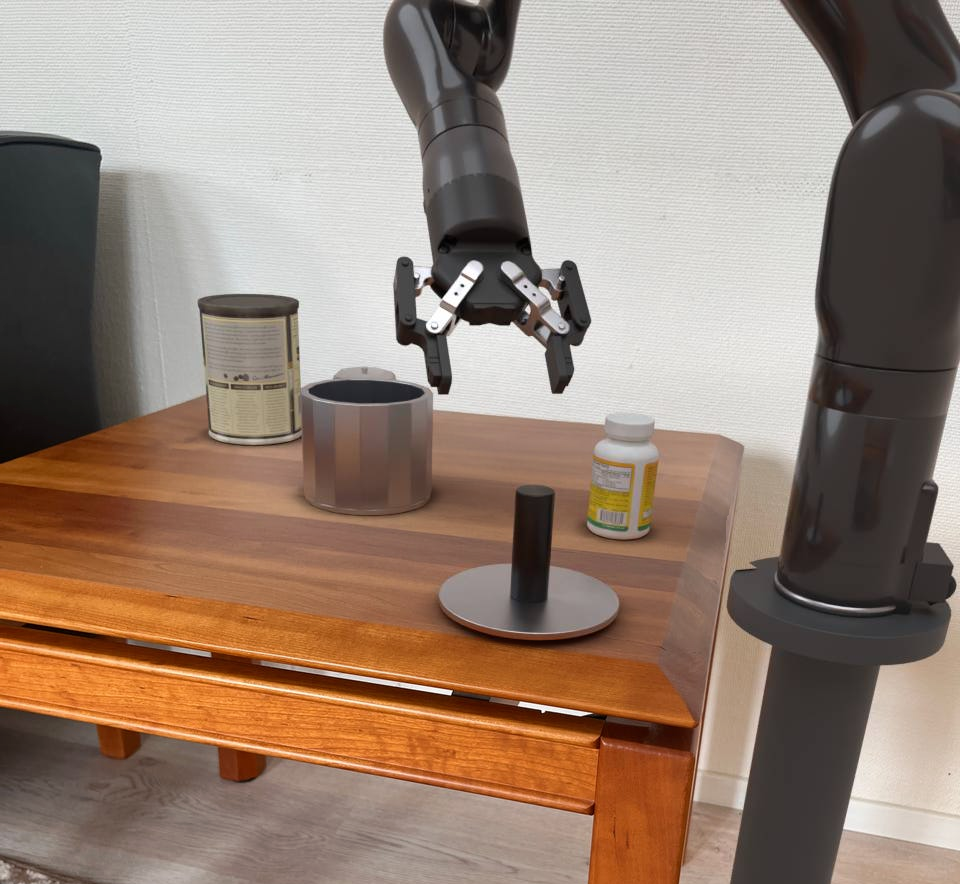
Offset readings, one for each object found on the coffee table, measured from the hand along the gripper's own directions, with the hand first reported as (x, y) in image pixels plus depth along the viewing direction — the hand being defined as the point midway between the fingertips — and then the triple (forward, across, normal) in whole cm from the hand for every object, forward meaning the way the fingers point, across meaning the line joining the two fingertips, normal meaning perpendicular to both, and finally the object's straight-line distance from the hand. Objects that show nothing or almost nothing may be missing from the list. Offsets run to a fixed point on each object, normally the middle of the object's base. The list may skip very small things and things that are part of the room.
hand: (504, 388), depth 73 cm
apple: (-22, -4, +42) cm, 47 cm away
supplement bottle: (+5, +12, +14) cm, 19 cm away
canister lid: (+16, 0, +2) cm, 16 cm away
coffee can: (-20, -17, +39) cm, 47 cm away
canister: (-3, -8, +22) cm, 24 cm away
